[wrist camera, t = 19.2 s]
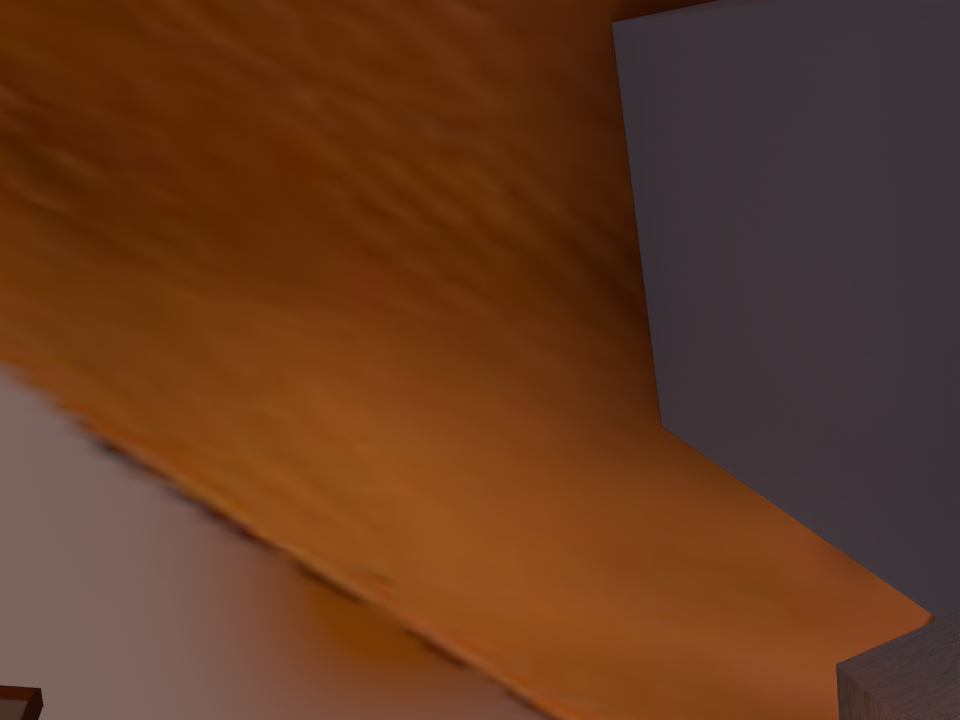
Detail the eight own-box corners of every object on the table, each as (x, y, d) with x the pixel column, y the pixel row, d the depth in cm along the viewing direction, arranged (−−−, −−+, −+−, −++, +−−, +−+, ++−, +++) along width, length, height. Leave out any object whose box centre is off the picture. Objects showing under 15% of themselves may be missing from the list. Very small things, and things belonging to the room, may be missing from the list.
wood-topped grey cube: (587, -18, 42) (1123, -145, 19) (799, -59, 45) (1497, -214, 22) (650, 462, 51) (1063, 787, 28) (823, 402, 54) (1332, 649, 31)
